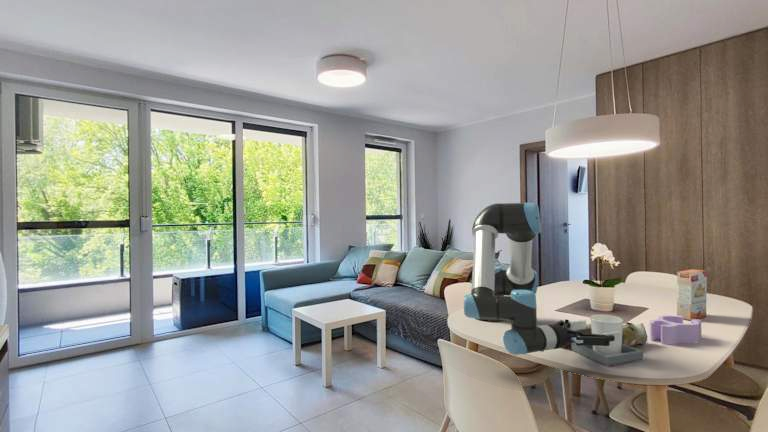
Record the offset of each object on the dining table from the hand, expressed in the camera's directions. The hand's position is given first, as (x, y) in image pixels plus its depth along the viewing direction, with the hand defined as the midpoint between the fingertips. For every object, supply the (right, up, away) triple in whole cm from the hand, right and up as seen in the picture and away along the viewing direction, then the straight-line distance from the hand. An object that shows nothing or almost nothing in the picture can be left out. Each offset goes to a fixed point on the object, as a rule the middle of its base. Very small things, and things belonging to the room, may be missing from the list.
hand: (601, 329), depth 130 cm
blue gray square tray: (+2, -9, +1) cm, 9 cm away
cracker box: (+65, -7, +42) cm, 78 cm away
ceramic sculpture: (+15, -9, +10) cm, 20 cm away
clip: (+37, -8, +16) cm, 41 cm away
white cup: (+3, -9, +2) cm, 9 cm away
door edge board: (-1, -9, +11) cm, 14 cm away
